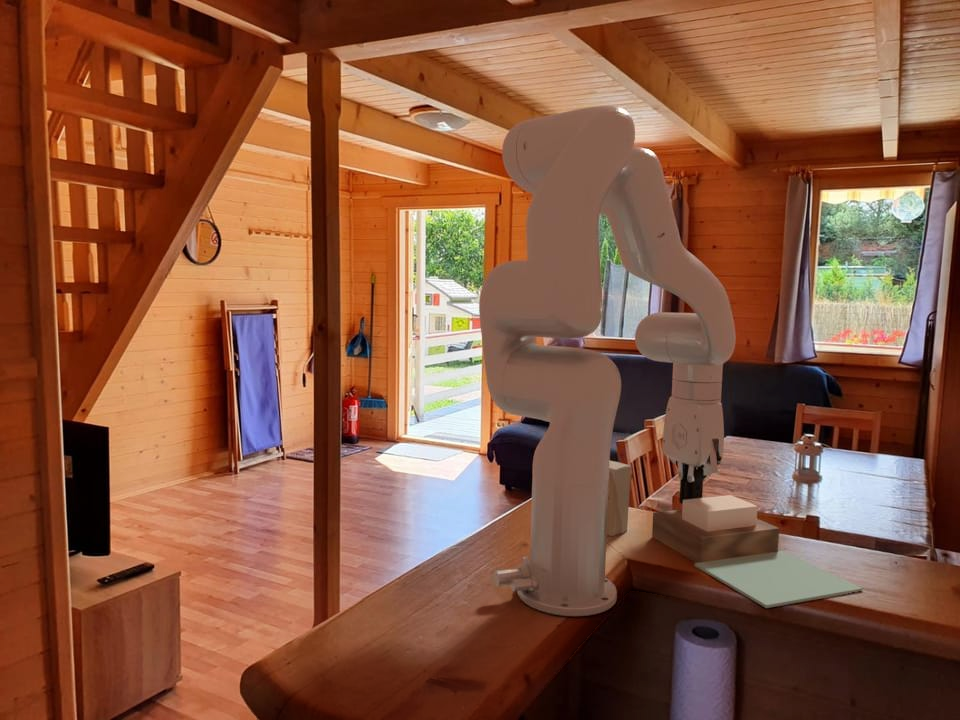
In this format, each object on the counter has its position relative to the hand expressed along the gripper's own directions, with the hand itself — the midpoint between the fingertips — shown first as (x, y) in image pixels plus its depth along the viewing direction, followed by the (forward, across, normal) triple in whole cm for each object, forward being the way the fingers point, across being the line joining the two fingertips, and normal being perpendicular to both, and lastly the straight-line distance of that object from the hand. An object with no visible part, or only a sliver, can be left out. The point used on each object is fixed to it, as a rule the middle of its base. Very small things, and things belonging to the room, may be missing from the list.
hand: (690, 503), depth 114 cm
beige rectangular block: (-1, +7, 0) cm, 7 cm away
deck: (+5, +6, 0) cm, 8 cm away
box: (+5, -5, -12) cm, 14 cm away
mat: (+5, +19, 0) cm, 19 cm away
